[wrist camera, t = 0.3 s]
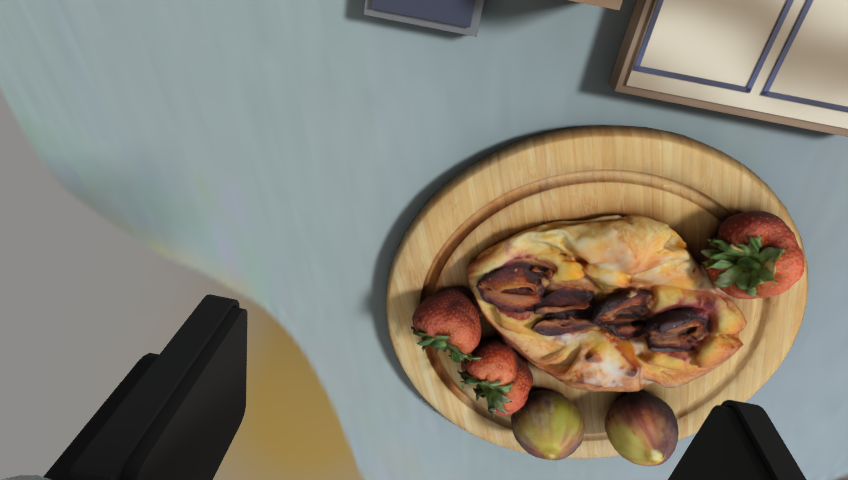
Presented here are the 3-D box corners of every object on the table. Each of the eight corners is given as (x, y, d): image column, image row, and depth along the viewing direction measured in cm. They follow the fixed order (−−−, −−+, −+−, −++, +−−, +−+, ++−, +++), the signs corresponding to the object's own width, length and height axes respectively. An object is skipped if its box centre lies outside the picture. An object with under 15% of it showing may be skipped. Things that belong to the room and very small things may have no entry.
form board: (669, -96, 30) (682, -98, 28) (952, -41, 30) (985, -39, 28) (608, 83, 35) (615, 92, 33) (850, 130, 35) (872, 142, 33)
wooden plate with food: (743, 32, 33) (814, 60, 26) (828, 387, 46) (891, 471, 39) (316, 224, 43) (283, 283, 36) (484, 473, 56) (483, 552, 49)
